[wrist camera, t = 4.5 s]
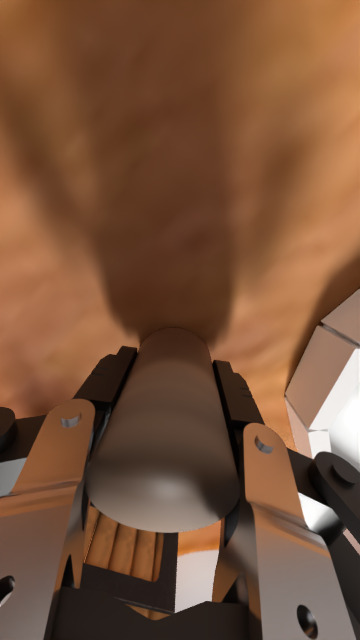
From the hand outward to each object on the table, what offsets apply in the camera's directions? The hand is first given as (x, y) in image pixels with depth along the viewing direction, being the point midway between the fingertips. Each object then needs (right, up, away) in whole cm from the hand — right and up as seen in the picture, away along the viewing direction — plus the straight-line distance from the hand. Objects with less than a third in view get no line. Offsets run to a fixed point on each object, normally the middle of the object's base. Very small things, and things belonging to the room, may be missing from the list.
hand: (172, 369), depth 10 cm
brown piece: (0, 0, +1) cm, 1 cm away
